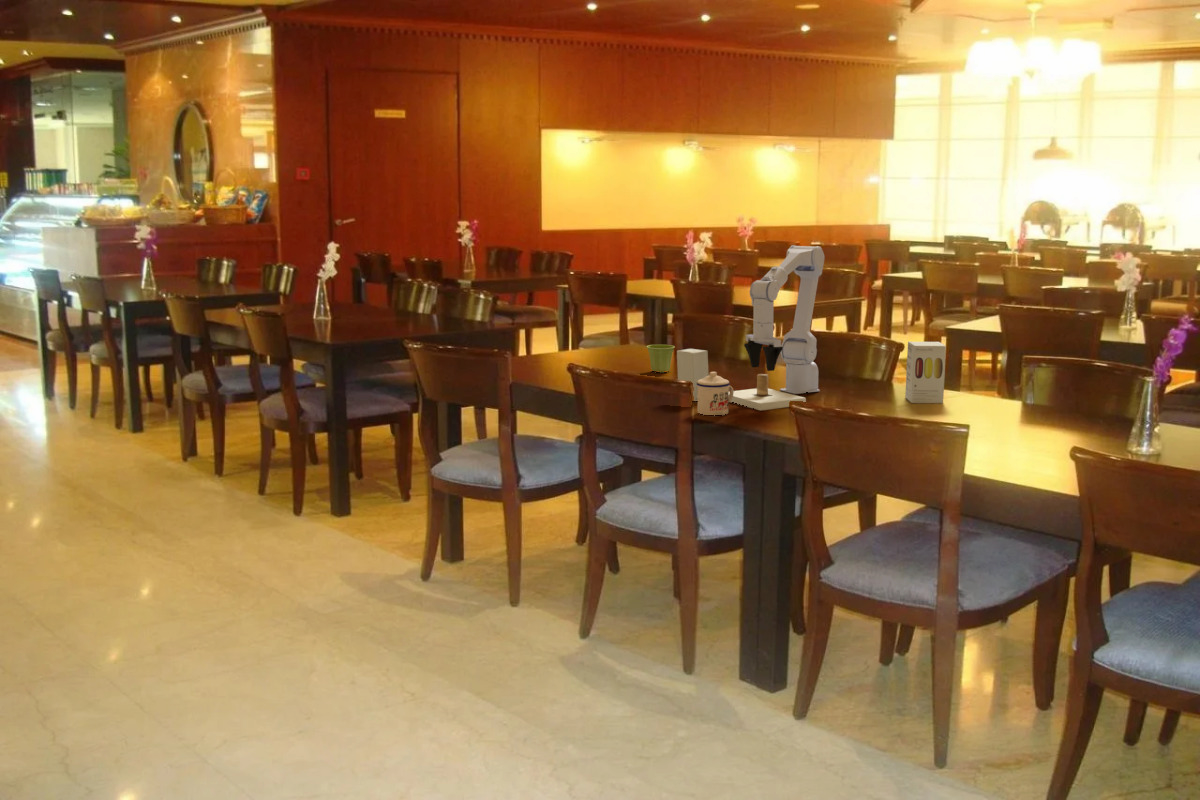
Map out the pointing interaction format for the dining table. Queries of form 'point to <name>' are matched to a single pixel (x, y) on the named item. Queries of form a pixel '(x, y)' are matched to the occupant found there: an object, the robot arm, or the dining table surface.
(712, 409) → the teacup with lid
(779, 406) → the board
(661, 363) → the plant pot
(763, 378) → the peg
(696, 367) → the skincare box
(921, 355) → the supplement box
